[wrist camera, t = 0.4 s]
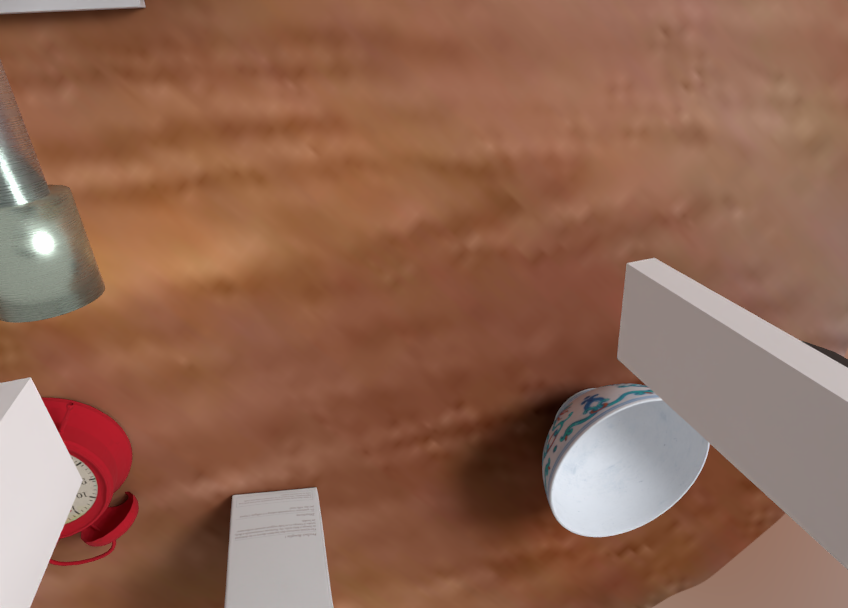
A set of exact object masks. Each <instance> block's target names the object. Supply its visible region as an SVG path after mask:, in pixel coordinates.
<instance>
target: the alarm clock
mask: <svg viewBox="0 0 848 608" xmlns="http://www.w3.org/2000/svg"><path fill="white" fill-rule="evenodd" d="M41 399H42V401H43V403H44V405H45V407H46V408H47V410H48V412H49V414H50V416H51V418H52V420H53V422H54V424H55V426H56V428H57V430H58V432H59V434H60V436H61V438H62V440H63V442H64V444H65V446H66V448H67V450H68V452H69V454H70V456H71V458H72V460H73V462H74V464H75V466H76V468H77V470H78V472H79V474H80V476H81V478H82V480H83V481H82V483H81V486H80V488H79V490H78V493H77V495H76V498H75V500H74V502H73V505H72V507H71V510H70V512H69V515H68V517H67V519H66V522H65V524H64V527H63V529H62V531H61V534H60V536H59V539H61V538H65V537H68V536H72V535H74V534H76V533H78V532H80V531H81V539H82V540H83V541H84V542H85V543H86V544H88V545H90V546H104V545H106V544H109V543H111V542H112V546H111V548H110V549H109V550H108V551H107V552H106V553H104V554H102V555H99V556H97V557H94V558H90V559H86V560H81V561H74V562H58V561H55V560H51V559H50V560H49V563H51V564H54V565H61V566H67V565H79V564H83V563H88V562H92V561H95V560H98V559H101V558H103V557H105V556H107V555H108V554H110V553H111V552H112V551H113V550H114V548H115V545H116V539H118V538H119V537H120V536H121V535H123V534H124V533H125V532H126V531H127V530H128V529H129V528H130V526H131V525H132V524H133V522H134V520H135V518H136V516H137V514H138V509H139V508H138V501H137V499H136V497H135V496H134V495H133V494H131V493H130V492H125V493H126V494H127V495H128V497H129V498H128V499H127V501H126V502H125V503H123V504H122V505H119V506H116V507H108V506H109V504H110V502H111V499H112V496H113V493H114V492H116V491H117V490H118V489H119V488H120V486H121V485H122V484H123V483H124V481H125V479H126V478H127V476H128V473H129V471H130V467H131V463H132V448H131V444H130V441H129V439H128V437H127V435H126V434H125V432H124V431H123V429H122V428H121V427H120V426H119V425H118V424H117V423H116V422H115V421H114V420H113V419H112V418H110V417H109V416H108V415H106V414H104V413H103V412H101V411H100V410H97V409H95V408H93V407H91V406H89V405H86V404H83V403H80V402H76V401H72V400H67V399H60V398H41ZM59 539H58V541H59ZM58 541H57V543H58ZM57 543H56V545H57Z"/></svg>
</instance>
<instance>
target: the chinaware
mask: <svg viewBox="0 0 848 608" xmlns="http://www.w3.org/2000/svg"><path fill="white" fill-rule="evenodd" d="M708 450H709V442H708V441H707V440H706V439H704V438H703V437H702V436H701V435H700V434H699V433H698V432H697V431H696V430H695V429H694V428H692V427H691V426H690V425H689V424H688V423H687V422H686V421H685V420H684V419H683V418H682V417H680V416H679V415H678V414H677V413H676V412H675V411H674V410H673V409H672V408H671V407H670V406H668V405H667V404H666V403H665V402H664V401H663V400H662V399H661V398H660V397H659V396H658V395H656V394H655V393H654V392H653V391H652V390H651V389H650V388H649V387H648V386H645V385H639V384H613V385H607V386H603V387H599V388H590V389H586V390H583V391H580V392H578V393H576V394H575V395H573V396H572V397H570V398H569V399H568V400H567V401H566V402H565V403H564V404H563V405H562V406H561V407H560V409H559V410H558V412H557V414H556V417H555V420H554V423H553V425H552V426H551V428H550V431H549V433H548V435H547V438H546V441H545V445H544V450H543V457H542V474H543V482H544V487H545V492H546V495H547V499H548V502H549V505H550V508H551V510H552V512H553V514H554V516H555V518H556V519H557V521H558V522H559V523H560V524H561V525H562V526H563V527H564V528H566V529H567V530H569V531H571V532H573V533H575V534H578V535H582V536H588V537H606V536H613V535H617V534H621V533H625V532H628V531H631V530H633V529H636V528H638V527H640V526H642V525H644V524H646V523H648V522H650V521H652V520H653V519H655V518H657V517H658V516H660V515H661V514H663V513H664V512H665V511H667V510H668V509H669V508H670V507H672V506H673V505H674V504H675V503H676V502H677V501H678V500H679V499H680V498H681V497H682V496H683V495H684V494H685V493H686V492H687V491H688V489H689V488H690V487H691V486H692V484H693V483H694V481H695V480H696V478H697V477H698V475H699V473H700V472H701V470H702V468H703V466H704V463H705V461H706V458H707V454H708Z"/></svg>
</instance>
